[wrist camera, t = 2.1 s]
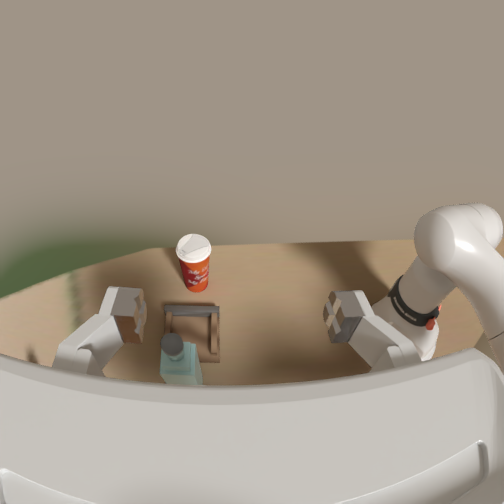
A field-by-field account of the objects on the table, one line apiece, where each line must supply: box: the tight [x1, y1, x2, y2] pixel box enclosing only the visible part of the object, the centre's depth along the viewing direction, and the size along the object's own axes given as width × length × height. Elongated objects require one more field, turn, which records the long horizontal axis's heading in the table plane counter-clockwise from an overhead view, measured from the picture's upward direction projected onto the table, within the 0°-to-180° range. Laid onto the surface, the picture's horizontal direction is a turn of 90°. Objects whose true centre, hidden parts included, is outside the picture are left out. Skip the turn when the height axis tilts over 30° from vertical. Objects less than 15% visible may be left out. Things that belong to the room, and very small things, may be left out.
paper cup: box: [176, 234, 211, 292], centre depth 65 cm, size 8×8×14 cm
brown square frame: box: [164, 305, 220, 363], centre depth 59 cm, size 12×12×3 cm
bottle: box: [160, 333, 203, 385], centre depth 44 cm, size 5×5×24 cm
